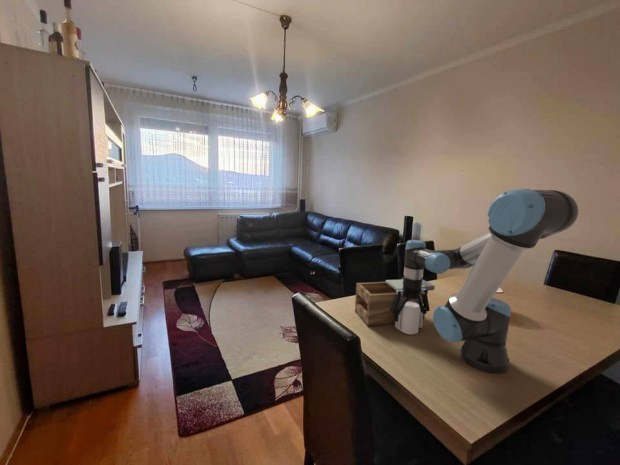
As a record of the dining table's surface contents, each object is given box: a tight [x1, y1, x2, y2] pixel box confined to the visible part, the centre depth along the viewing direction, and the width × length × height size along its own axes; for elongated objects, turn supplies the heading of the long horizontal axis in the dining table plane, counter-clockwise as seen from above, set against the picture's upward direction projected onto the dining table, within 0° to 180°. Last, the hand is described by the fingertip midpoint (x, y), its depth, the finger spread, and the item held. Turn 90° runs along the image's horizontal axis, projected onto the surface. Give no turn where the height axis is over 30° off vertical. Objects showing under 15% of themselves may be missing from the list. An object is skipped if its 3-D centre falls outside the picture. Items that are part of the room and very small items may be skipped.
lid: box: [384, 278, 436, 291], centre depth 138 cm, size 12×18×2 cm, turn 102°
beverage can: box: [399, 301, 420, 335], centre depth 124 cm, size 8×8×12 cm
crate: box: [354, 277, 423, 328], centre depth 137 cm, size 16×26×16 cm, turn 102°
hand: (408, 327), depth 125 cm, fingers open, 10 cm apart
